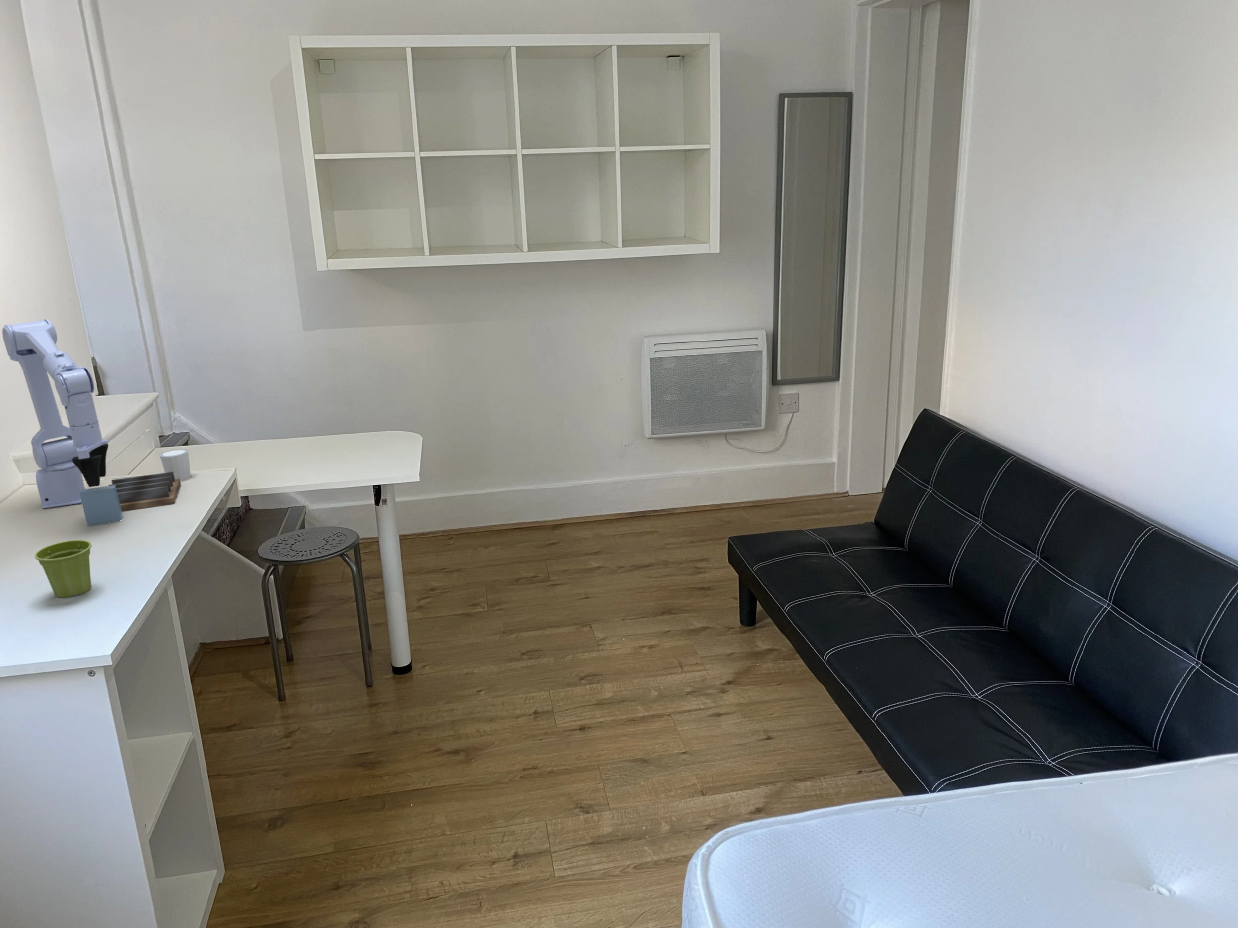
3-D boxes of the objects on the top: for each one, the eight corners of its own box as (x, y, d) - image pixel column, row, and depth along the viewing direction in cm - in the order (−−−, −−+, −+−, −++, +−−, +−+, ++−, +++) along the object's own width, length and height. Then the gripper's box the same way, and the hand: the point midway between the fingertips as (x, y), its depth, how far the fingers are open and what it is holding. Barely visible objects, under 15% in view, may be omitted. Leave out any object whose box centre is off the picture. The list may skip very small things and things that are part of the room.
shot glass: (198, 476, 245) (193, 450, 243) (175, 483, 240) (169, 457, 238) (183, 472, 249) (177, 447, 247) (159, 480, 243) (153, 454, 241)
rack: (100, 514, 220) (96, 498, 219) (111, 493, 234) (108, 478, 233) (174, 503, 225) (171, 488, 223) (180, 484, 239) (177, 469, 238)
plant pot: (111, 580, 182) (102, 539, 179) (80, 602, 173) (70, 559, 171) (67, 580, 183) (56, 539, 180) (33, 602, 174) (22, 559, 172)
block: (87, 525, 213) (79, 492, 210) (89, 522, 215) (81, 489, 213) (121, 520, 215) (113, 488, 213) (123, 517, 217) (115, 484, 215)
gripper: (97, 428, 203) (111, 487, 207) (109, 414, 216) (122, 470, 220) (61, 432, 201) (76, 492, 205) (74, 418, 214) (88, 475, 218)
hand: (97, 481), depth 212 cm, fingers open, 7 cm apart
